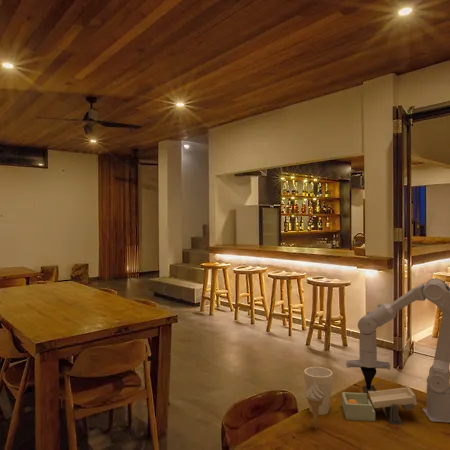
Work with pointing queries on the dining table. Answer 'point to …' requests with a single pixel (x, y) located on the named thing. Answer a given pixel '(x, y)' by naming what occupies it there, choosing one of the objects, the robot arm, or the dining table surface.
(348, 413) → the cup
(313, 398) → the ice cream cone
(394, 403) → the lever board
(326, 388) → the foam cup
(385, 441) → the dining table surface
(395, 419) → the lever stand
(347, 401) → the ball
